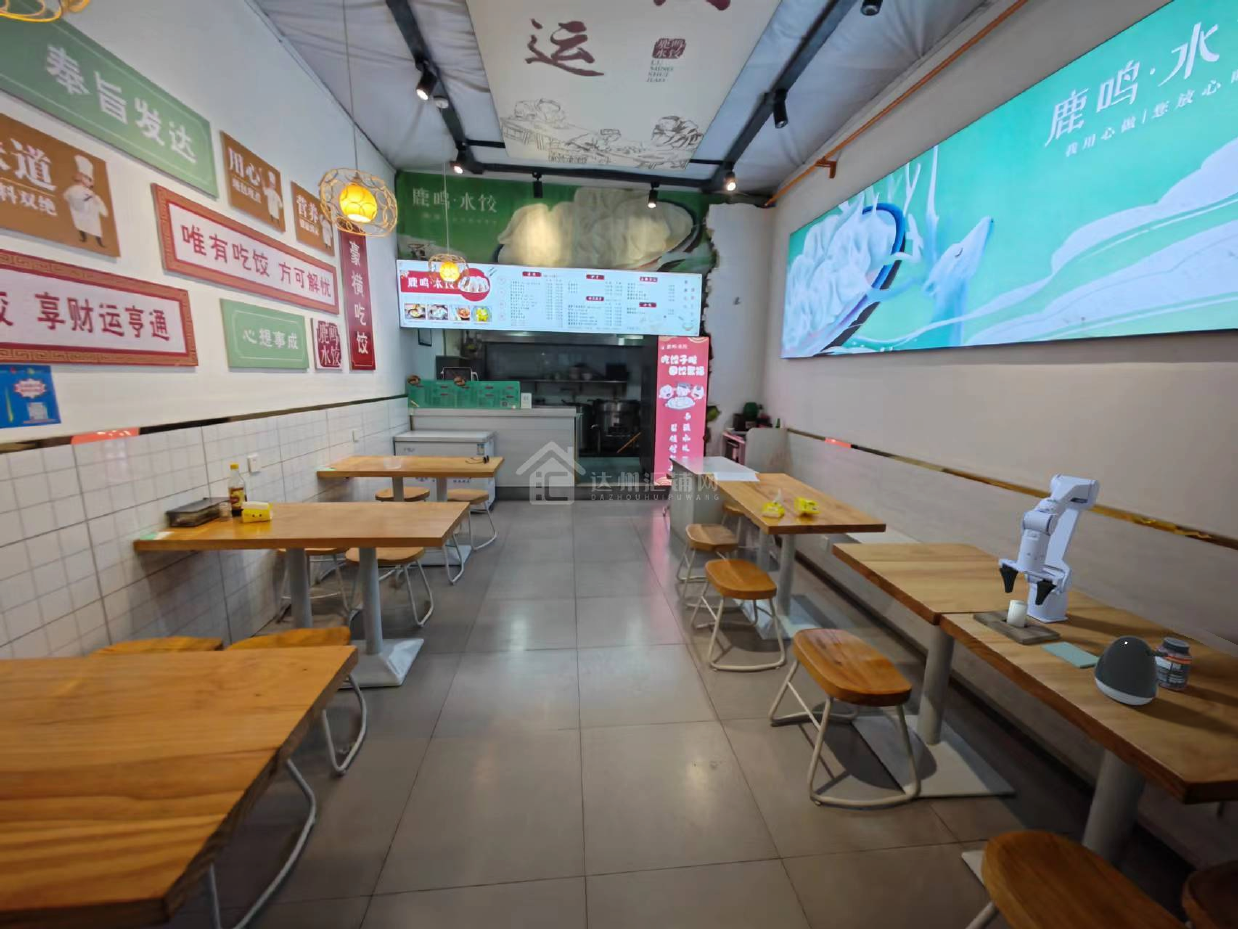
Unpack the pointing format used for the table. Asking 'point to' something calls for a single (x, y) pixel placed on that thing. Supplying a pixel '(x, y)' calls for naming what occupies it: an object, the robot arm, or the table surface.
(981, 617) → the socket board
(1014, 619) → the white cylinder
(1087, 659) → the rubber mat
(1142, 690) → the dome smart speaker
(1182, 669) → the supplement bottle
